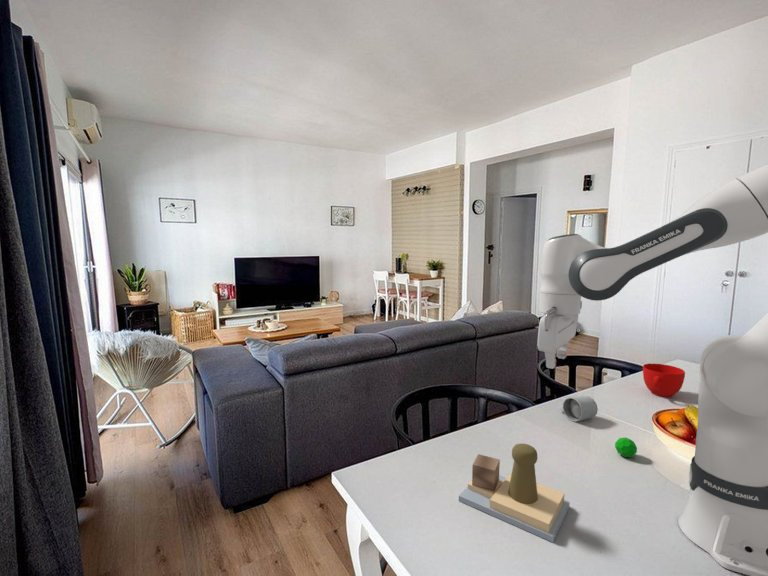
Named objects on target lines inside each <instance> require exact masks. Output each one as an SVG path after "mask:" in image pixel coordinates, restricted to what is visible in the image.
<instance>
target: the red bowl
mask: <svg viewBox="0 0 768 576" xmlns="http://www.w3.org/2000/svg"><path fill="white" fill-rule="evenodd" d="M642 376H643V382H644V384H645V386H646V388H647V389H648V390H649V392H650V393H651V394H653V395H655V396H656V397H657V396H658V397H662V398H672V397H673V396H674V395H676V394H677V393H679V391H680V390H681V389H682V386H683V384H684V381H685V377H686V372H685V370H684V369H682V368H679V367H677V366H673V365H668V364H662V363H646V364H643V365H642Z"/></svg>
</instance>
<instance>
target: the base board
mask: <svg viewBox="0 0 768 576" xmlns="http://www.w3.org/2000/svg"><path fill="white" fill-rule="evenodd" d="M511 475H512V473H509V474H508V475H507V477H505V476H503V475H500V474H499V481H498V484H497V486H496V489H495V491H494V492H493V491H490V490H487V489H483V488H480V487H476V486H473V485H472V479H471V480H470V481H469V482H468V483H467V486H466V487H465V488H464V489H463V490H462V492H460V494H459V495H458V501H459V502H460V503H462V504H465V505H467V506H469V507H472V508H473V509H476V510H479V511H481V512H484V513H486V514H488V515H490V516H492V517H494V518H497V519H499V520H501V521H504V522H506V523H508V524H510V525H512V526H515V527H517V528H520V530H521V529H522V530H523V531H526V532H529V533H530V534H533V535H535V536H537V537H539V538H542V539H544V540H547V541H549V542H551V543H554V541H555V540H556V536H557V535H558V532H559V530H560V528H561V526H562V524H563V522H564V519H565V518H566V514H567V512H568V510H569V509H570V501H569V500H568V499H565V493H564V492H562V491H559V490H557V489H555V488H551V487H548V486H546V485H544V484H540V483H537V482H536V485H537V495H538V500H537V501H536V502H535V503H533V504H523V503H519V502H517V501H515V500H513V499H512V498H511V497H510V496H509V494H508V492H509V486H510V480H511Z"/></svg>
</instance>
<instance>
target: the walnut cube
mask: <svg viewBox="0 0 768 576" xmlns="http://www.w3.org/2000/svg"><path fill="white" fill-rule="evenodd" d="M500 462H501V460H500V459H498V458H496V457H495V458H494V457H492V456H487V455H483V454H480V453H478V454H477V456H476V457H475V460H474V461H473V463H472V470H471V471H472V472H471V475H472V476H471V480H472V485H473V486H476V487H480V488H483V489H487V490H490V491H493V492H494V491H495V489H496V486H497V484H498V481H499V475H500Z"/></svg>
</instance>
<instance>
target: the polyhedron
mask: <svg viewBox="0 0 768 576" xmlns="http://www.w3.org/2000/svg"><path fill="white" fill-rule="evenodd" d="M614 444H615V445H614V448H615V449H616V451H617V454H619V455H621V456H622V457H624V458H633V457H634V456H635V455H636V454H637V452H638V447H637V445H636V443H635V442H634V441H633V440H632V439H631V438H629V437H619V438H618V439H617V440H616V441H615V443H614Z"/></svg>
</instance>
